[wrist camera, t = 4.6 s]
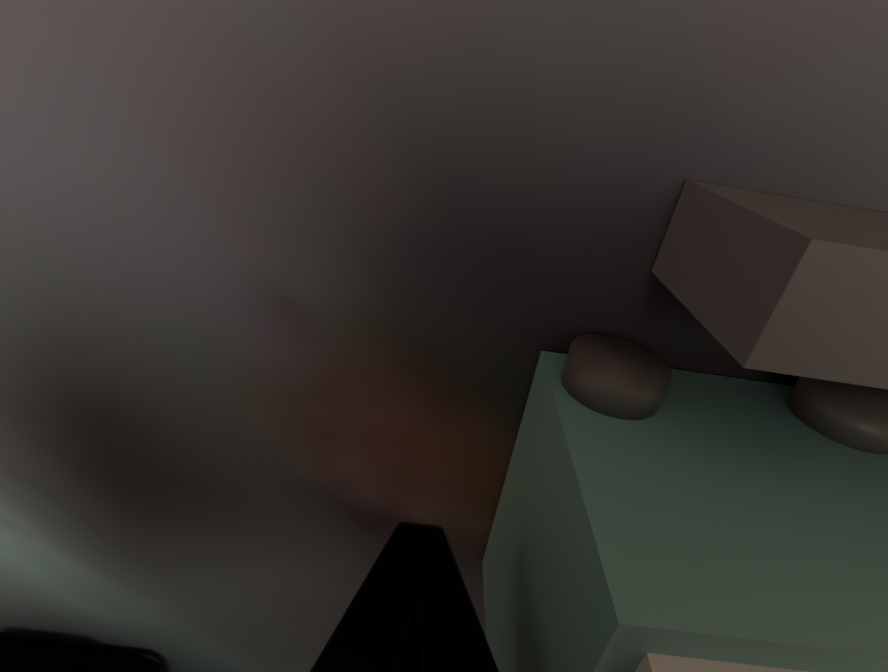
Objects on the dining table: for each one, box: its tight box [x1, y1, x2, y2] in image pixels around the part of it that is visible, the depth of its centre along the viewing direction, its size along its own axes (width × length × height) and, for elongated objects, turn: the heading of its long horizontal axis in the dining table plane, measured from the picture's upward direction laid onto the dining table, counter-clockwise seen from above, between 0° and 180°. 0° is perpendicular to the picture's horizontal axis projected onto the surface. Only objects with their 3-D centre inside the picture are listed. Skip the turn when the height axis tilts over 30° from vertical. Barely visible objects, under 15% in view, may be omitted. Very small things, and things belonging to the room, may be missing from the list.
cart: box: [482, 334, 888, 672], centre depth 8 cm, size 7×6×5 cm
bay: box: [651, 180, 888, 389], centre depth 9 cm, size 12×8×3 cm
